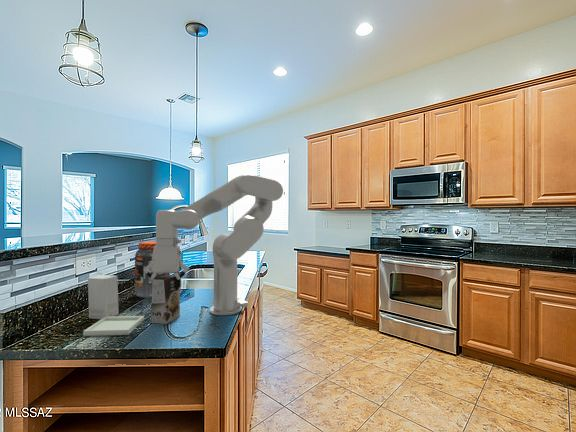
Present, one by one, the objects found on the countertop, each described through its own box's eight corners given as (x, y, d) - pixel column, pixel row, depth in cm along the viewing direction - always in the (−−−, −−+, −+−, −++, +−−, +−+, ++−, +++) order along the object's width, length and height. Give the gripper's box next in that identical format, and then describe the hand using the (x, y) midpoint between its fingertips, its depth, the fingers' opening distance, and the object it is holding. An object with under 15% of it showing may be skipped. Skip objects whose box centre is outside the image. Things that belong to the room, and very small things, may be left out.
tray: (144, 320, 115) (144, 315, 115) (128, 334, 101) (128, 329, 101) (104, 321, 114) (105, 316, 114) (83, 335, 100) (83, 330, 100)
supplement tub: (134, 292, 156) (134, 241, 155) (167, 289, 163) (167, 240, 163) (135, 300, 142) (135, 244, 141) (171, 296, 149) (171, 242, 149)
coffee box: (166, 324, 111) (167, 279, 111) (150, 323, 112) (151, 278, 112) (180, 316, 120) (180, 274, 120) (165, 315, 121) (165, 274, 121)
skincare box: (119, 315, 121) (119, 275, 121) (104, 320, 114) (105, 278, 114) (101, 313, 123) (102, 274, 123) (87, 318, 117) (87, 277, 117)
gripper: (192, 241, 120) (192, 287, 120) (146, 241, 119) (146, 287, 119) (188, 243, 113) (187, 291, 113) (138, 243, 111) (138, 292, 111)
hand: (166, 289), depth 116 cm, fingers closed on coffee box, 7 cm apart
